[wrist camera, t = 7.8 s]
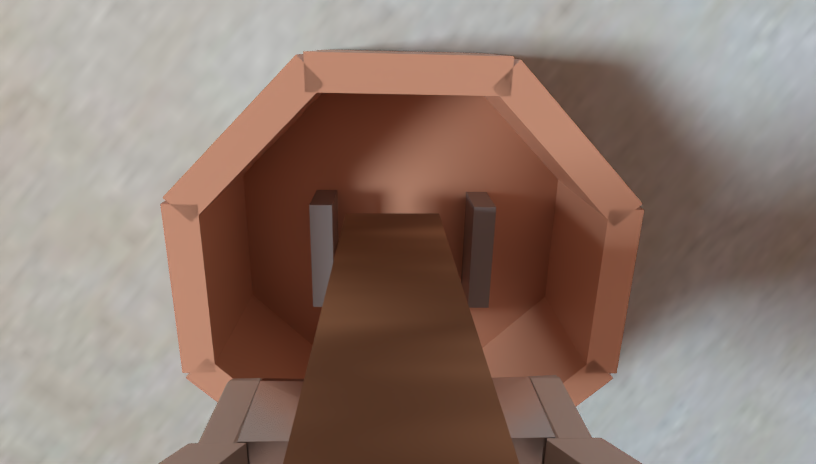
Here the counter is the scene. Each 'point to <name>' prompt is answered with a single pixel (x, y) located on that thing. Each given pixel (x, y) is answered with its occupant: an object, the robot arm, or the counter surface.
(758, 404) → the counter surface
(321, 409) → the tall wooden block
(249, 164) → the octagonal terracotta tray
